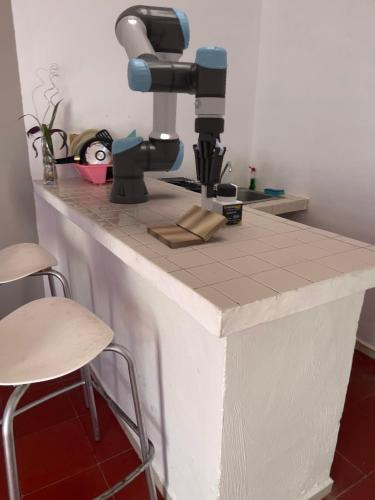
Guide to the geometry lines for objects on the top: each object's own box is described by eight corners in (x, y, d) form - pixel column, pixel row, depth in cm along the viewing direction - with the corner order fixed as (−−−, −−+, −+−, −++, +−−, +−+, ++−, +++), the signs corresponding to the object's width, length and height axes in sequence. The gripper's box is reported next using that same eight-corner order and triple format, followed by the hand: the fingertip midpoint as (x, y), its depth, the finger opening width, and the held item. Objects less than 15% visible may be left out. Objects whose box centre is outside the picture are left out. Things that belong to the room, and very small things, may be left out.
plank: (177, 226, 108) (174, 222, 107) (197, 208, 109) (194, 204, 108) (205, 241, 94) (203, 237, 94) (228, 221, 96) (225, 217, 95)
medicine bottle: (221, 228, 109) (223, 186, 105) (209, 222, 115) (210, 183, 111) (241, 225, 112) (244, 185, 108) (228, 219, 118) (230, 181, 114)
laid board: (147, 232, 104) (147, 226, 103) (176, 228, 108) (176, 223, 107) (172, 248, 90) (172, 242, 90) (204, 243, 94) (204, 238, 94)
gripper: (184, 116, 97) (183, 205, 105) (210, 116, 86) (207, 215, 94) (208, 117, 101) (206, 203, 108) (237, 116, 90) (232, 212, 97)
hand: (206, 208), depth 101 cm, fingers closed
